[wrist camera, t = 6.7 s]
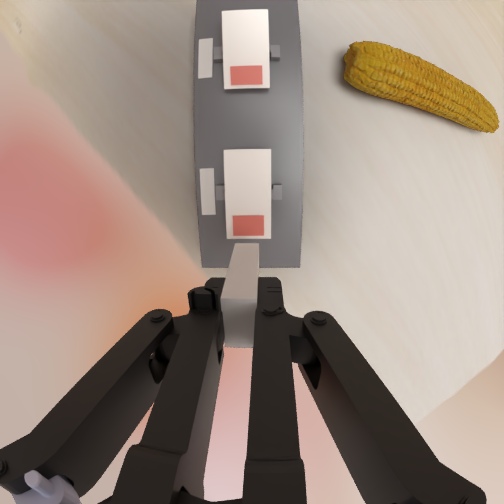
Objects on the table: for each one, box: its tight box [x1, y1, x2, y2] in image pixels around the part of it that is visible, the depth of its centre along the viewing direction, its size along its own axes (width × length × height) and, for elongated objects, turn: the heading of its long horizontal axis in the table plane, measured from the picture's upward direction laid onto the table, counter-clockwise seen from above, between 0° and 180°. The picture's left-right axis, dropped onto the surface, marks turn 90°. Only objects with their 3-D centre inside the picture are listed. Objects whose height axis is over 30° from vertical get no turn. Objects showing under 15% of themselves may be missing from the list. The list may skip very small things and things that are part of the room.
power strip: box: [194, 0, 304, 268], centre depth 21 cm, size 32×9×5 cm, turn 1°
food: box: [343, 41, 499, 133], centre depth 19 cm, size 21×6×6 cm, turn 87°
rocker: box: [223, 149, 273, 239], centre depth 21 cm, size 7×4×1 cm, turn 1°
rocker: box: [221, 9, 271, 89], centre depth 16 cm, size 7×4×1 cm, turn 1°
